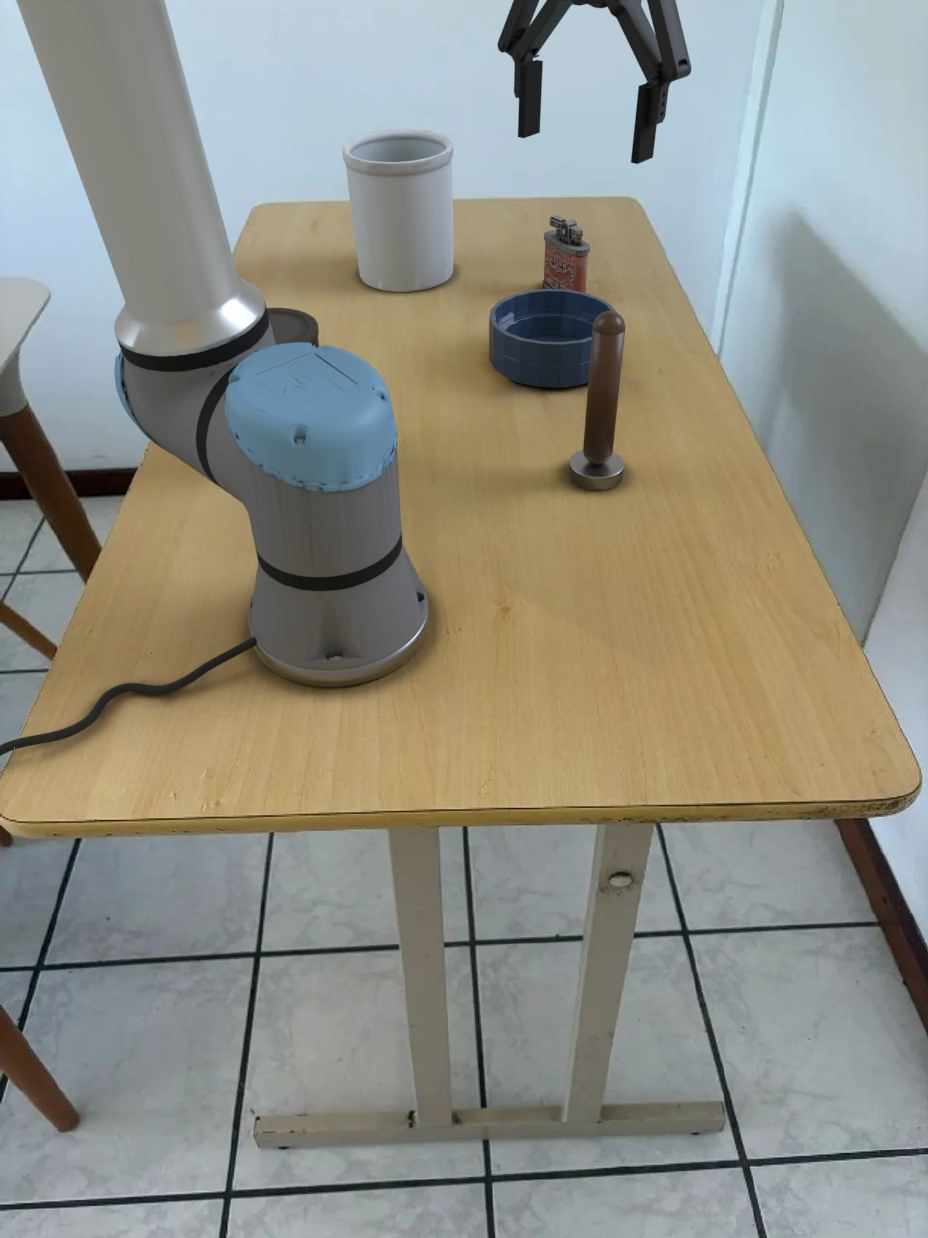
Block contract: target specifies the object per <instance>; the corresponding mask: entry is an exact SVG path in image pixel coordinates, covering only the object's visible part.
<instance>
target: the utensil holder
mask: <svg viewBox="0 0 928 1238" xmlns="http://www.w3.org/2000/svg"><path fill="white" fill-rule="evenodd" d="M341 152H342V160H343V162H344V164H345V169H346V170H345V171H346V179H347V187H348V188H347V189H348V194H349V195H348V196H349V203H350V211H351V218H352V228H353V237H354V243H355V249H356V258H357V265H358V266H357V267H358V272H359V277H360V279H361V281H362V282H363V283H364V284H365V285H367V286H369V287H371V288H373V289H376V290H380V291H385V292H392V293H393V292H394V293H411V292H419V291H425V290H428V289H432V288H435V287H438V286H440V285H443V284H444V283H446V282H447V281H448V280H450V278H451V277H452V276H453V274H454V206H453V205H454V200H453V199H454V197H453V196H454V195H453V164H452V158H453V156H454V142H453V140H452V139H451V138H450V137H449V136H447V135H445V134H443V133H440V132H437V131H433V130H427V129H419V128H389V129H382V130H375V131H370V132H366V133H361V134H359V135H357V136H354V137H352V138H350V139H349V140H347V141H346V142H344V144H343V146H342V151H341Z"/></svg>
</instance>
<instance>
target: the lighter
mask: <svg viewBox="0 0 928 1238" xmlns="http://www.w3.org/2000/svg"><path fill="white" fill-rule="evenodd" d="M549 226H550V227H552V228H553V229H554V230H553V229H552V230H547V231H545V232H544V233H543V240H544V243H545V245H544V266H543V280H542V281H541V289H563V290H571V291H577V292H584V293H587V292H586V291H587V279H588V278H587V277H588V276H587V275H588V262H589V254H590V253H591V245H590V244H589V243H588V242H586V241H585V240H584V239H583V237H584V228H583V227H582V226H580V225H578V222H577V220H575V219H570V220H567V219H566V218H564V217H562V216H559V215H557V214H553V215H550V217H549Z"/></svg>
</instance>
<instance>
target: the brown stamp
mask: <svg viewBox="0 0 928 1238" xmlns="http://www.w3.org/2000/svg"><path fill="white" fill-rule="evenodd" d="M625 336H626V323H625V320H624V318H623V317H622V315H621V314H619V313H618V312H617V313H616V312H613V311H606V312H603V313H601V314H600V315H598V316H597V318H596V319H595V321H594V323H593V329H592V342H591V355H590V367H589V380H588V382H587V392H586V393H587V394H586V408H585V419H584V420H585V421H584V431H583V432H584V433H583V445H582V449H581V450H577V451H576V452H574V453H573V454H572V455H571V456H570V458H569V460H568V479H569V480H570V482H571V483H572V484H574V485H575V486H577V487H579V488H581V489H583V490H584V489H585V490H587V491H599V492H600V491H607V490H611V489H614V488H616V487H617V486H619V485H620V484H621V483H622V481H623V479H624V472H625V471H624V470H625V461H624V459H623V457H622V456H621V455H620V454H618V453H617V452H615V451H614V442H615V434H616V423H617V414H618V404H619V394H620V386H621V385H620V384H621V377H622V368H623V367H622V366H623V357H624V347H625V338H626V337H625Z"/></svg>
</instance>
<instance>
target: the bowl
mask: <svg viewBox="0 0 928 1238" xmlns="http://www.w3.org/2000/svg"><path fill="white" fill-rule="evenodd" d="M606 311H613V312H616V313H618V311H617V310H616V309H615V308H614V306H613V305H612V304H611V303H609V302H607V301H606V300H604V299H603V298H601V297H599V296H596V295H593V294H590V293H587V292H585V293H584V292H577V291H571V290H563V289H542V288H540V289H534V290H526V291H522V292H518V293H514V294H511V295H508V296H506V297H504V298H502V299H500V300H498V302H497V303H495V304H494V305H493V306H492V307H491V308H490V311H489V317H488V361H489V362H490V365H491V366H492V368H493V369H494V370H495V371H496V372H497V373H498V374H500V375H501V376H503V377H504V378H507V379H508V380H511V381H514V382H517V383H519V384H523V385H529V386H534V387H538V388H539V387H540V388H567V387H575V386H581V385H584V384H586V383H587V384H588V380H589V367H590V355H591V342H592V329H593V323H594V321H595V319H596V318H597V316H598V315H600V314H601V313H603V312H606Z"/></svg>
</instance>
